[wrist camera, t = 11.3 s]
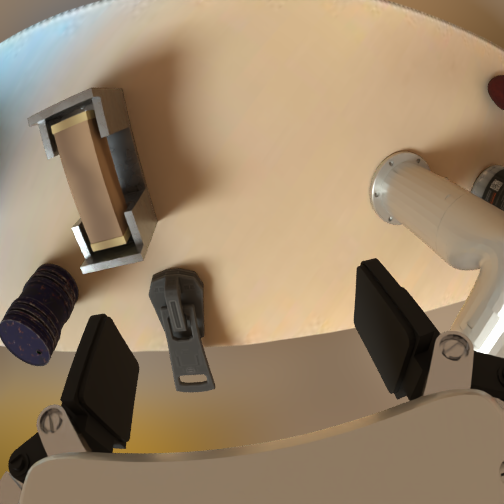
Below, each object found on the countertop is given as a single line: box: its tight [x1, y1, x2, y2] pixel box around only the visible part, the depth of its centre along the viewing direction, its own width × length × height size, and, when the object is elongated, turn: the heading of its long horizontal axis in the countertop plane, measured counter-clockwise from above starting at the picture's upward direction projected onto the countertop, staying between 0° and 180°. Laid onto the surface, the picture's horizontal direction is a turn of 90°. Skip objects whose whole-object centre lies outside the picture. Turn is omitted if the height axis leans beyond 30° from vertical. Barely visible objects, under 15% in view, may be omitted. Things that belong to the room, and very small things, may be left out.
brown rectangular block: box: [51, 110, 131, 252], centre depth 31 cm, size 5×16×5 cm, turn 9°
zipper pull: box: [149, 269, 215, 392], centre depth 50 cm, size 9×7×25 cm
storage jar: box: [0, 264, 78, 366], centre depth 39 cm, size 10×10×15 cm
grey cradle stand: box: [28, 88, 158, 274], centre depth 32 cm, size 8×20×11 cm, turn 9°
